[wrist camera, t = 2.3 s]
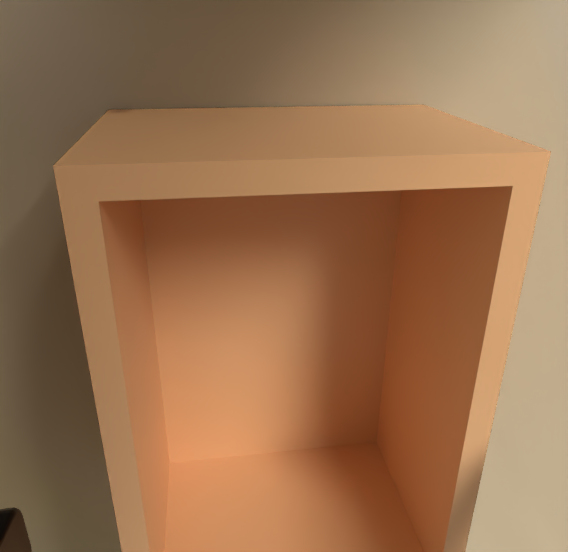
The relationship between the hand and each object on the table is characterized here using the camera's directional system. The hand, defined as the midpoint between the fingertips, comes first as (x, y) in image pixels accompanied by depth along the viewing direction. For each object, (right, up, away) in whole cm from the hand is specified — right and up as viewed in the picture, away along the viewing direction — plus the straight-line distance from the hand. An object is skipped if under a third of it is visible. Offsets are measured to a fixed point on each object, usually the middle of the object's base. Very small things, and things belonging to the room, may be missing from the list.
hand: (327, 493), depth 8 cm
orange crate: (-1, +3, +6) cm, 6 cm away
